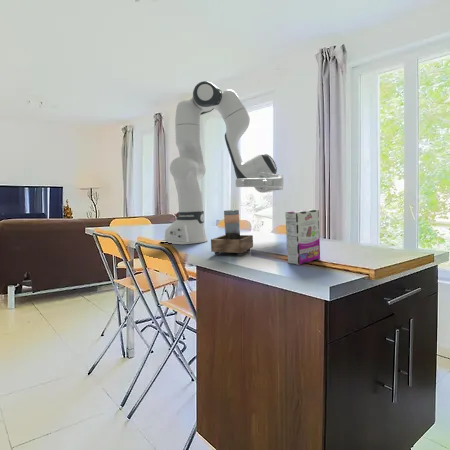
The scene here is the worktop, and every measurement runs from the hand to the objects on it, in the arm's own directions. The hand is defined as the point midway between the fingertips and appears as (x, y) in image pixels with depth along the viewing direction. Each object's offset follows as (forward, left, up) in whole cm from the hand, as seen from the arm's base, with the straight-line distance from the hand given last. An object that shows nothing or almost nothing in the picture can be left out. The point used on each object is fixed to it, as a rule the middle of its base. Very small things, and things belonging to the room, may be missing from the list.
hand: (253, 182), depth 145 cm
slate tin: (-3, -16, -23) cm, 28 cm away
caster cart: (-4, -17, -26) cm, 31 cm away
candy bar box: (+24, -26, -26) cm, 44 cm away
